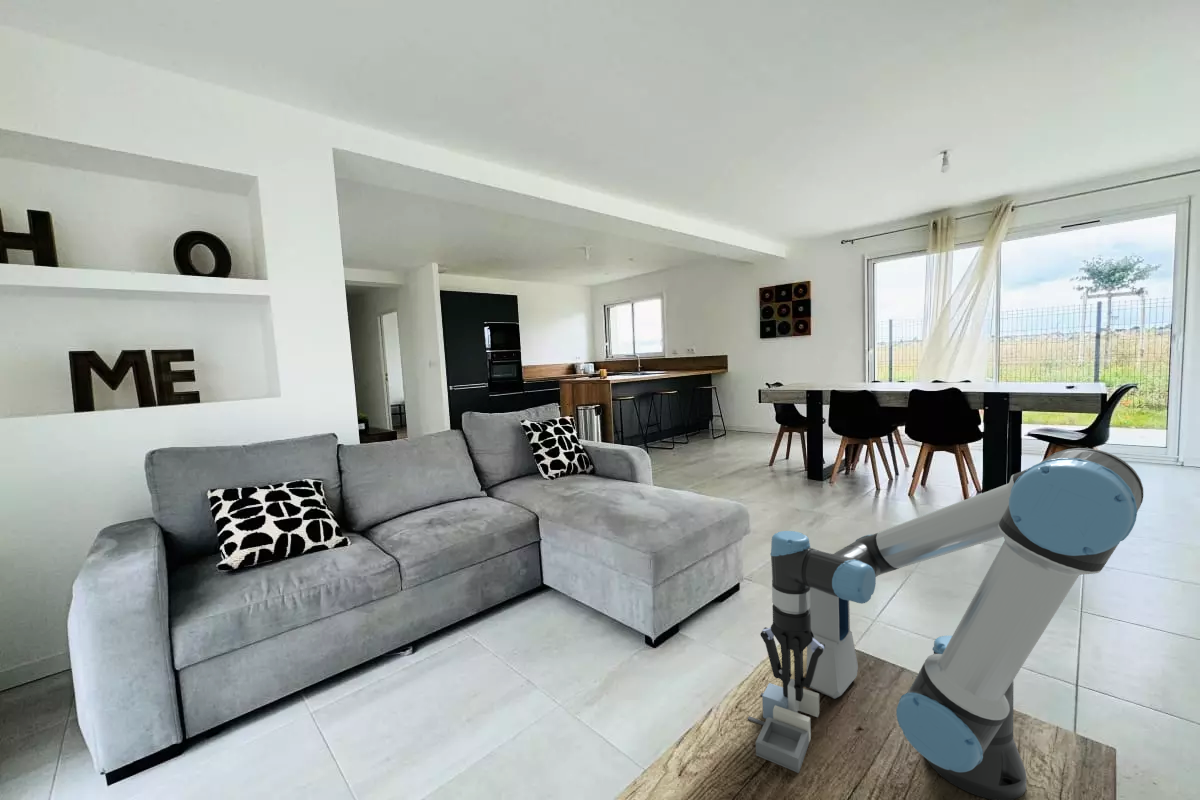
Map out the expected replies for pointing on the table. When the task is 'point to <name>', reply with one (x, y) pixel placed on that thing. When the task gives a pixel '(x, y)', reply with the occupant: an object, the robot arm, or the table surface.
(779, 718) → the channel
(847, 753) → the table surface
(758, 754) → the tray
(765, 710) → the block
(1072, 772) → the table surface
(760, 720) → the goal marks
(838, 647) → the electronic device
